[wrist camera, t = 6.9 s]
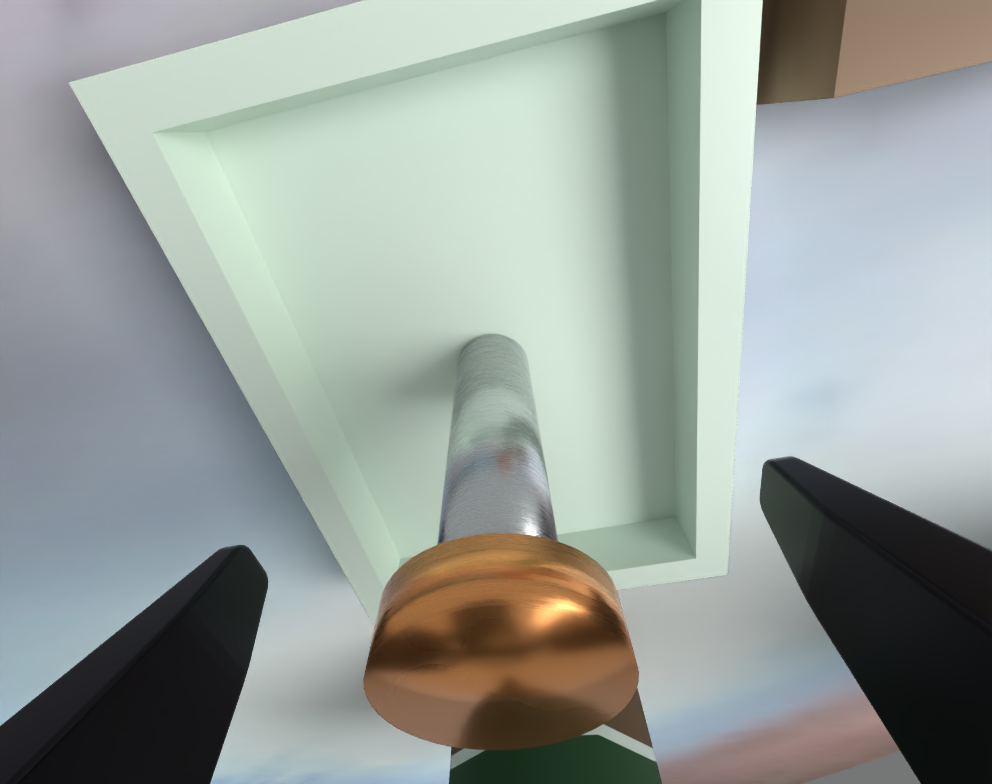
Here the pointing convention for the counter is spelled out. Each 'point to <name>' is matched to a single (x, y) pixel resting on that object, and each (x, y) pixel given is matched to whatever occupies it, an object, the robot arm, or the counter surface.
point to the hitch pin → (498, 591)
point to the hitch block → (865, 44)
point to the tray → (468, 251)
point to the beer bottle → (569, 757)
